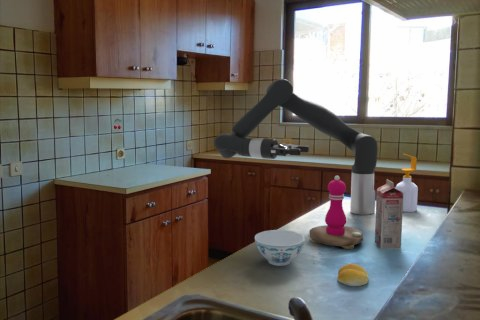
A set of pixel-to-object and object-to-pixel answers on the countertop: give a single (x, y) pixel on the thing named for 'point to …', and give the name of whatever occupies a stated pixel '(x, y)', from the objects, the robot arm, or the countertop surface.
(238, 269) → the countertop surface
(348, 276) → the bread roll
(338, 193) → the pepper mill
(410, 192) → the soap bottle
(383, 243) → the juice carton
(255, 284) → the countertop surface
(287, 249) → the chinaware
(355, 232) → the round wooden disc
